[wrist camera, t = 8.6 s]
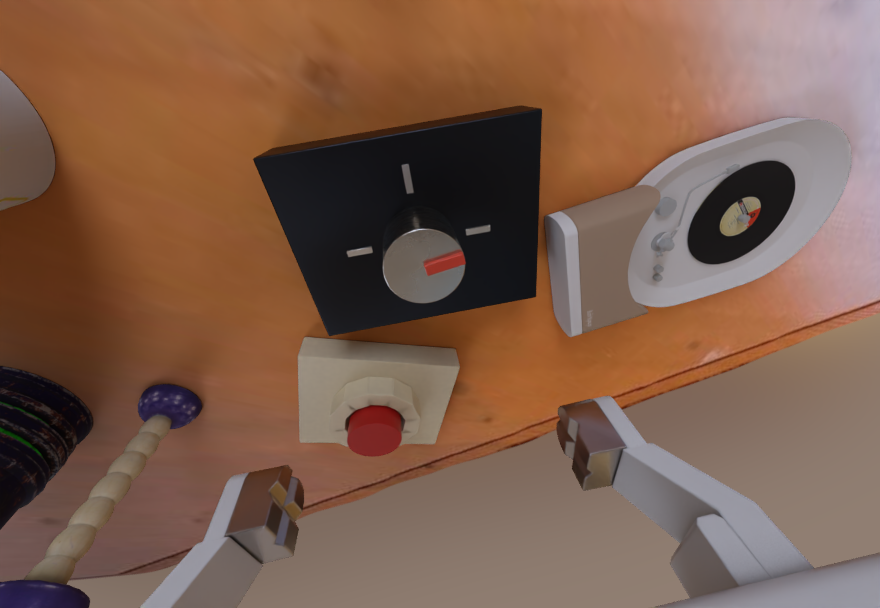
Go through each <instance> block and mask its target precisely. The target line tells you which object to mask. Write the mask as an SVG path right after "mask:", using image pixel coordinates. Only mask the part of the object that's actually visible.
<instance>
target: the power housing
mask: <svg viewBox="0 0 880 608" xmlns="http://www.w3.org/2000/svg"><path fill="white" fill-rule="evenodd" d="M459 369H460V365H459V361H458V357H457V353H456V349H452V348H440V347H427V346H414V345H401V344H389V343H376V342H363V341H351V340H338V339H325V338H313V337H304V339H303V342H302V345H301V348H300V351H299V354H298V389H299V432H300V442H306V443H340V444H341V445H344V446H346V447H349V446H348V444H347V436H348V428H349V420H350V417H351V415H352V414H353V413H354V412H355V411H356V410H358V409H361V408H364V407H367V406H370V405H380V406H388V407H391V408H393V409H395V410H396V411H397V412H398V413H399V414H400V417H401V431H402V440H401V443H400V445H399V446H401V445H403V444H435V442H436V439H437V436H438V433H439V430H440V427H441V424H442V421H443V418H444V415H445V411H446V408H447V405H448V402H449V399H450V396H451V393H452V390H453V387H454V384H455V381H456V378H457V375H458V372H459Z"/></svg>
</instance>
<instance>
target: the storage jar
mask: <svg viewBox="0 0 880 608" xmlns="http://www.w3.org/2000/svg"><path fill="white" fill-rule="evenodd" d="M92 425H93V421H92V416H91V414H90V411H89V410H88V408H87V407H86V405H85V404H84V403H83V402H82V401H81V400H80V399H79V398H77V397H76V396H75V395H74V394H72V393H71V392H70V391H68V390H66V389H65V388H63V387H62V386H60V385H58V384H56V383H54V382H52V381H50V380H47V379H45V378H43V377H40V376H38V375H35V374H32V373H29V372H26V371H22V370H18V369H14V368H9V367H3V366H0V529H1V528H2V527H3V526H4V525H5V524H6V523H7V521H8V520H9V519H10V518H11V517H12V516H13V515H14V513H15V512H16V511H17V510H18V509H19V508H22V507H23V506H25V505H27V504H29V503H30V502H31V501H32V500H33V499H34V498H35V497H36V496H37V495H39V494H40V493H41V492H42V491H43V490H44V488H45V486H46V484H47V482H48V481H50V480H51V479H52V478H53V477H54V476H55V475H56V473H57V472H58V471H59V470H60V469H61V468H62V466H63V465H64V464H65V463H66V461H67V459H68V457H69V456H70V455H71V453H72V452H73V451H74V449H75V447H76V445H77V444H79V443H80V442H81V441H82V440H83V439H84V438H85V437H86V436H87V435H88V434H89V432H90V430H91V429H92Z"/></svg>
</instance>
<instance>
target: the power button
mask: <svg viewBox="0 0 880 608" xmlns="http://www.w3.org/2000/svg"><path fill="white" fill-rule="evenodd" d="M401 440H402V431H401V417H400V414H399V413H398V412H397V411H396V410H395V409H393V408H391V407H388V406H380V405H370V406H367V407H364V408H361V409H358V410H356V411H355V412H354V413H353V414H352V415H351V417H350V420H349V428H348V436H347V444H348V446H349V448H350V449H351V450H352V451H354V452H355V453H357V454H360V455H364V456H381V455H385V454H388V453H390V452H392V451H394V450H395V449H396V448H397V447H398V446H399V445H400V443H401Z"/></svg>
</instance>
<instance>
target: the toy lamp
mask: <svg viewBox="0 0 880 608" xmlns="http://www.w3.org/2000/svg"><path fill="white" fill-rule="evenodd" d="M201 409H202V404H201V401H200V399H199V398H198V397H197V396H196V395H195V394H194V393H193V392H191V391H189V390H187V389H185V388H182V387H179V386H176V385H169V384H167V385H166V384H163V385H155V386H152V387H150V388H148V389H146V390H145V391H144V392H143V394H142V396H141V398H140V400H139V403H138V413H139V415H140V417H141V418H142V420H143V421H144V422H145V423H144V424H143V425H142V427H141V428H140V430H139V432H138V435H137V436H135V437H134V438H133V439H132V440H131V441H130V442H129V443H128V444H127V446H126V448H125V449H124V453H123V454H122V455H121V456H119V457H118V458H117V459H116V460H115V461H114V462H113V463H112V464H111V466H110V468H109V469H108V472H107V475H106V476H105V477H103V478H102V479H101V480H100V481H99V482H98V483H97V484H96V485H95V486H94V488H93V489H92V491H91V492H90V495H89V497H88V501H86V502H85V503H84V504H82V505H81V506H80V507H79V508H78V509H77V510H76V512H75V513H74V514H73V516H72V517H71V519H70V521H69V524H68V528H67V529H65V530H64V531H62V532H61V533H60V534H59V535H58V536H57V537H56V538H55V539H54V541H53V542H52V543H51V544H50V546H49V548H48V549H47V551H46V554H45V558H44V560H43V561H41V562H40V563H39V564H37V565H36V566H35V567H34V568H33V569H32V570H31V571H30V572H29V574H28V575H27V576H26V577H25V579H24V580H16V581H6V582H0V608H89V604H90V600H89V597H88V596H87V595H86V594H85V593H84V592H82V591H81V590H80V589H77V588H74V587H72V586H70V585H66V584H67V582H68V581H69V579H70V577H71V575H72V574H73V571H74V568H75V563H76V562H77V561H79V560H80V559H81V558H82V557H83V556H84V555H85V554H86V553H87V551H88V550H89V549H90V547H91V546H92V544H93V542H94V539H95V536H96V532H97V531H98V530H100V529H101V528H102V527H103V526H104V525H105V524H106V523H107V521H108V520H109V518H110V517H111V515H112V513H113V510H114V505H116V504H117V503H118V502H119V501H120V500H121V499H122V498H123V497H124V496H125V495H126V493H127V492H128V490H129V488H130V485H131V481H133V480H134V479H135V478H136V477H137V476H138V475H139V474H140V473H141V472H142V470H143V469H144V467H145V464H146V460H147V459H148V458H150V457H151V456H152V455H153V453H154V452H155V451H156V449H157V447H158V445H159V441H160V440H161V439H163V438H164V437H165V436H166V435H167V433H168V432H169V430H170V429H176V428H180V427H182V426H185V425H187V424H189V423H190V422H191V421H193V420H194V419H195V418H196V417H197V416H198V415H199V413H200V412H201Z"/></svg>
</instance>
